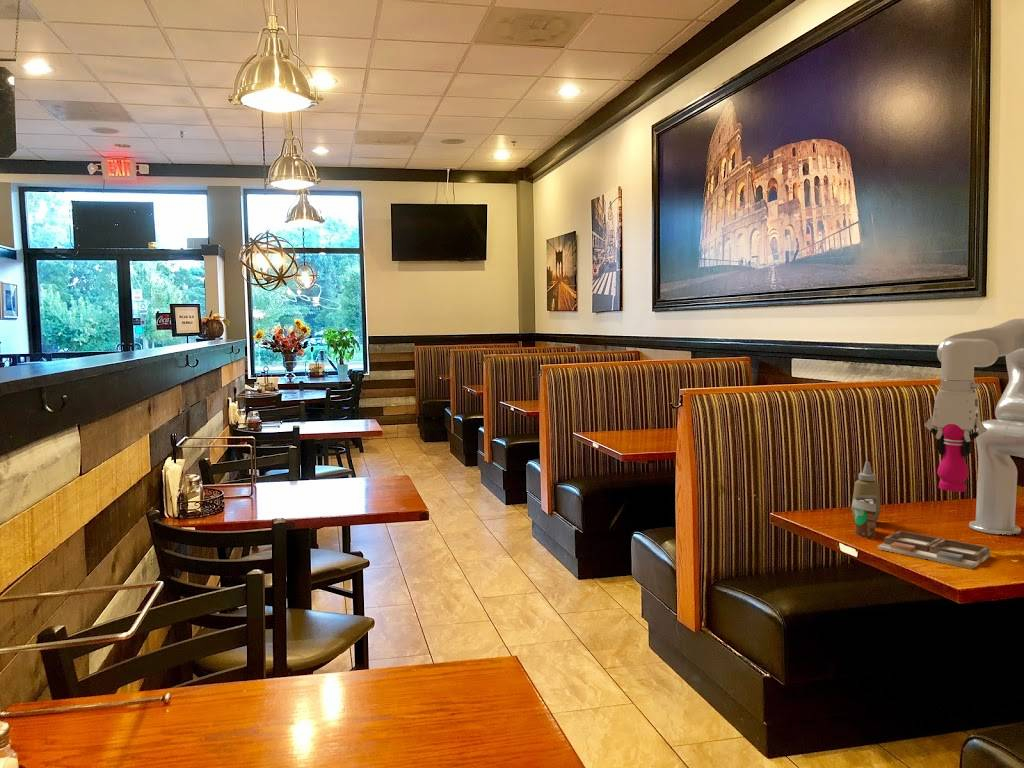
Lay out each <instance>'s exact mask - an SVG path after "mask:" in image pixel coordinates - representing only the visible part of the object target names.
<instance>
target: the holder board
mask: <svg viewBox="0 0 1024 768" xmlns="http://www.w3.org/2000/svg"><path fill="white" fill-rule="evenodd" d="M883 538H884V539H883V543H881V544H879V545H877V549H880V550H879V551H881V550H884V551H883V552H886V551H889V552H888V553H891V552H895V553H894V554H896V553H900V554H899V555H901V554H905V555H909V556H908V557H910V556H914V557H913V558H915V557H918V558H917V559H920V558H922V559H921V560H925V559H928V560H927V561H930V560H932V561H931V562H935V561H937V562H936V563H939V562H941V563H940V564H944V563H945V564H946V565H951V566H955V567H960V568H964V569H965V568H966V569H968V570H973V569H975V568H976V567H977V566H979V565H980V564H981V563H983V562H984V561H986V560H987V559H989V558H990V557H991V556H992V552H990V547H989V546H985V545H979V544H974V543H968V542H965V541H964V542H963V541H958V540H953V539H948V538H942V537H936V536H931V535H926V534H920V533H915V532H909V531H904V530H897V531H896V532H893V533H892V534H889V535H888V536H885V537H883ZM905 555H904V556H905Z"/></svg>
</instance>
